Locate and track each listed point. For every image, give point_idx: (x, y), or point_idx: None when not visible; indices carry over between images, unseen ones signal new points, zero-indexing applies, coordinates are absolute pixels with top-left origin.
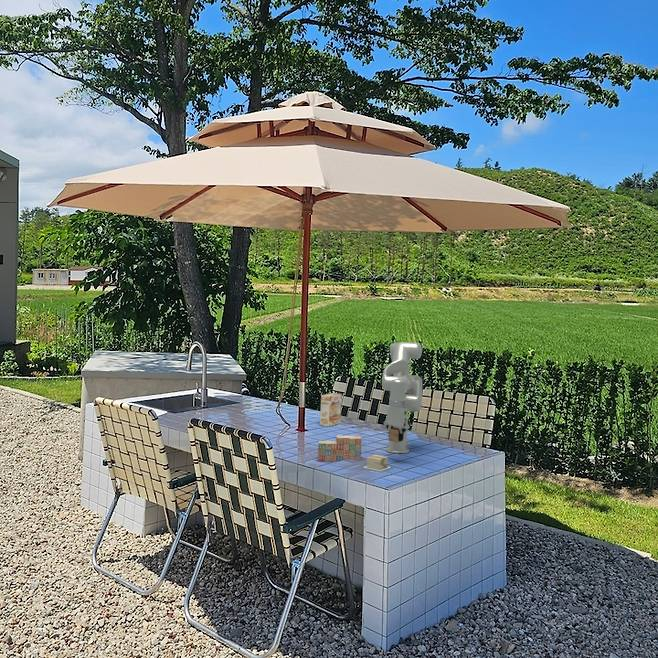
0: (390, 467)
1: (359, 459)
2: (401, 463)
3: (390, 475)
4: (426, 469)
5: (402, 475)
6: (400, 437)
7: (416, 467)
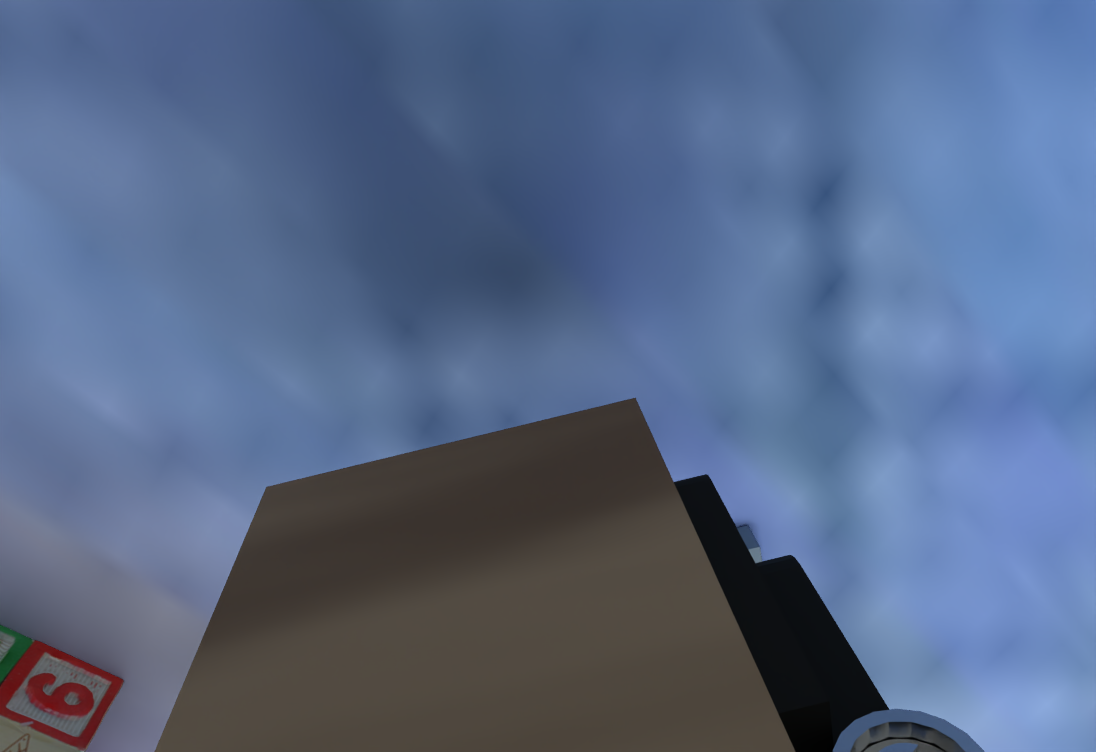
0: None
1: (98, 725)
2: (515, 179)
3: None
4: (1074, 100)
5: (972, 640)
6: None
7: (872, 154)
